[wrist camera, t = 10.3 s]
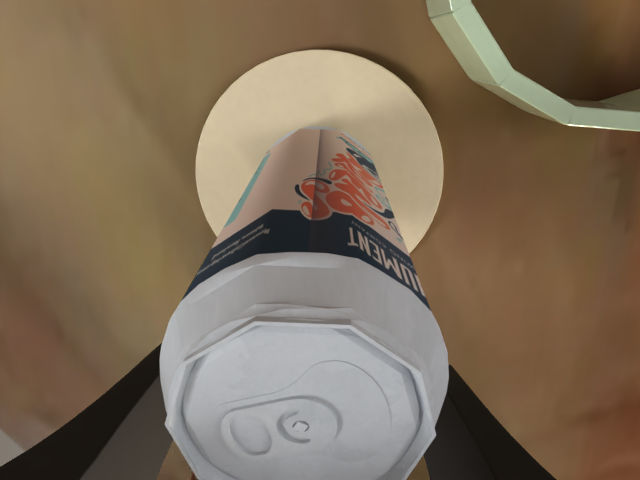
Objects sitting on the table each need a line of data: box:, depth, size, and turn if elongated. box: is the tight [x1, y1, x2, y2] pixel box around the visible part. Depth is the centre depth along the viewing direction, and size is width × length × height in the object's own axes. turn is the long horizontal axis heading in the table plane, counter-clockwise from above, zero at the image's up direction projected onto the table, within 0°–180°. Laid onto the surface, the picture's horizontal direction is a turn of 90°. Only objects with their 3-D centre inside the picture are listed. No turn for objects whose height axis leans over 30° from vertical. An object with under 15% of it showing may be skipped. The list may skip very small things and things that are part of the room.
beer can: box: [159, 126, 449, 480], centre depth 12 cm, size 5×5×12 cm
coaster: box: [196, 49, 443, 253], centre depth 17 cm, size 10×10×1 cm
